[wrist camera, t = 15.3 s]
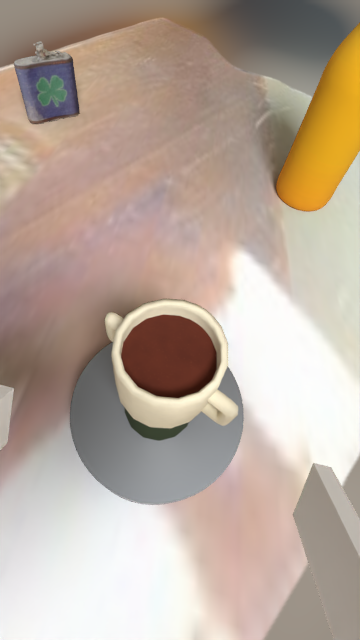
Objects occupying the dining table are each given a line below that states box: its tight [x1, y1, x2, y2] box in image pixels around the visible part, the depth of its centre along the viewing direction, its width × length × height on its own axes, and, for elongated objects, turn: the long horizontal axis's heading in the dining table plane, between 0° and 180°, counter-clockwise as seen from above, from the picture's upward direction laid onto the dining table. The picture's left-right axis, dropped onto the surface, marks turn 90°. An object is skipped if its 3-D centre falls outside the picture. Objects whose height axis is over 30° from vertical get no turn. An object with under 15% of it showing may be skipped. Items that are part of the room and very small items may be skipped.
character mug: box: [104, 299, 238, 441], centre depth 25 cm, size 11×7×13 cm, turn 53°
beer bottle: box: [276, 23, 360, 211], centre depth 44 cm, size 9×9×29 cm
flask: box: [14, 42, 80, 124], centre depth 55 cm, size 9×3×11 cm, turn 122°
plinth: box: [70, 342, 243, 505], centre depth 33 cm, size 16×16×5 cm
